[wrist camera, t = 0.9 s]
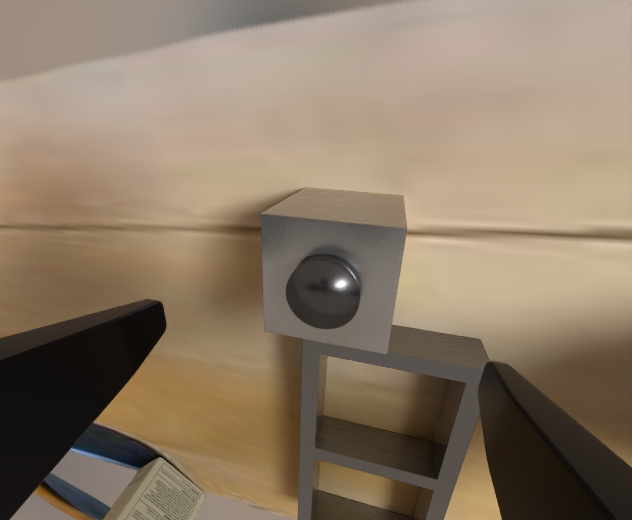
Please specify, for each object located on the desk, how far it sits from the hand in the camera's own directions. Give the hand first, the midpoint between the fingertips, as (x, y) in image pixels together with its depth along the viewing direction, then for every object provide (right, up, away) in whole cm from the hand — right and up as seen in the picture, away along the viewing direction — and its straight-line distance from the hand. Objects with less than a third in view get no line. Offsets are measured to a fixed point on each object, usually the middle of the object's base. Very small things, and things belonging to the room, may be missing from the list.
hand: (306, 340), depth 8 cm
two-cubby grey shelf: (+4, -10, +13) cm, 17 cm away
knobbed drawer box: (+2, +3, +8) cm, 9 cm away
